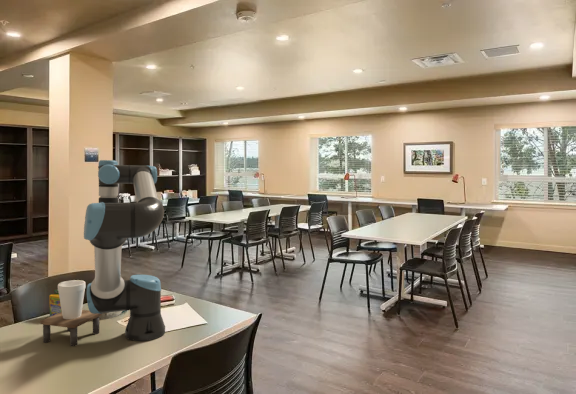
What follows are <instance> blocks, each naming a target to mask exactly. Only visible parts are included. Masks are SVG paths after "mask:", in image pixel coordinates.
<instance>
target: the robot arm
mask: <svg viewBox="0 0 576 394" xmlns="http://www.w3.org/2000/svg"><path fill="white" fill-rule="evenodd" d="M97 167H98V168H97V170H98V171H97V176H98V202H92V203H89V204H88V205H87V206H86V209H85V216H84V225H83V226H84V227H83V239H85V240H88V241H89V243H90V245H92V247H94V251H93V254H94V279H93V280H92V281H91V282H90V283H88V284H87V285H86V300H87V306H88V307H87V308H88V311H90V312H91V313H93V314H97V313H99V314H102V313H109V312H117V311H122V312H126V311H129V319H128V321H127V324H126V327H125V331H124V333H125V335H124V337H125V338H126V339H128V340H131V341H134V342H135V341H136V342H144V341H151V340H155V339H158V338H160V337H162V336H164V335H165V333H166V325H165V322H164V319H163V316H162V311H161V307H162V306H161V305H162V303H161V302H162V301H161V299H162V295H161V293H162V285H161V280H160V279H159V278H158V277H157V276H154V275H150V274H132V275H130V277H129V279H127V280H126V279H125V280H124V278H123V277H122V274H121V270H122V250H123V249H122V246H123V245H125V243H126V241H127V239H137V238H139V239H140V238H143V237H146V236H149V235H150V234H151V233H153V232H154V231H155V230H156V229H158V227H159V226H160V225H161V223H162V221H163V219H164V216H165V207H164V205H163V203H162V201H161V200H160V199H159V196H158V194H157V189H156V186H155V184H157V181H158V169H157V167H156V166H154V165H147V164H146V165H134V164H133V165H130V164H128V165H127V164H125V165H124V164H119V163H118V161H117V160H114V159H111V160H107V159H101V160H99V161H98V166H97ZM119 184H122V185H123V184H125V185H126V184H128V185H130V184H131V185H133V189H134V194H135V202H134V201H133V202H119V198H118V196H119Z"/></svg>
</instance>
